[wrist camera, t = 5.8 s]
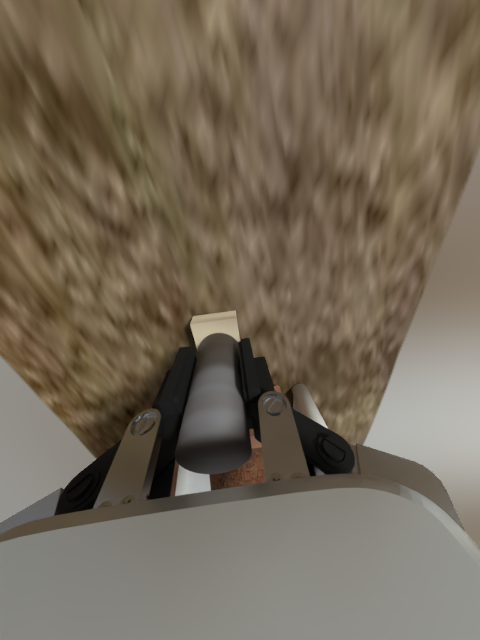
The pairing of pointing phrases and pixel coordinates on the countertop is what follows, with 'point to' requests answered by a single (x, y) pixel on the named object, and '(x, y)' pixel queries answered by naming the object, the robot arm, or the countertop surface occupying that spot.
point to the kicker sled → (216, 401)
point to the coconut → (241, 473)
